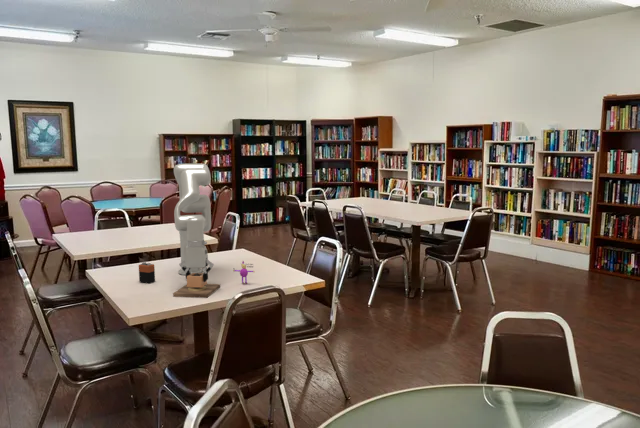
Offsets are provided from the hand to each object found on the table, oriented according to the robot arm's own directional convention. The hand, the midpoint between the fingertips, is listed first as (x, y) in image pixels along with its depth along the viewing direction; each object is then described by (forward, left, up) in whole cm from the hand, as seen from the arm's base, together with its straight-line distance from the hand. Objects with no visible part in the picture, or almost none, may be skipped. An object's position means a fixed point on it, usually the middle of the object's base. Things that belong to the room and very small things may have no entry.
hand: (197, 280), depth 235 cm
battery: (-14, -32, -6) cm, 35 cm away
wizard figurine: (-16, +18, -6) cm, 25 cm away
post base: (0, 0, -5) cm, 5 cm away
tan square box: (0, 0, -2) cm, 2 cm away
